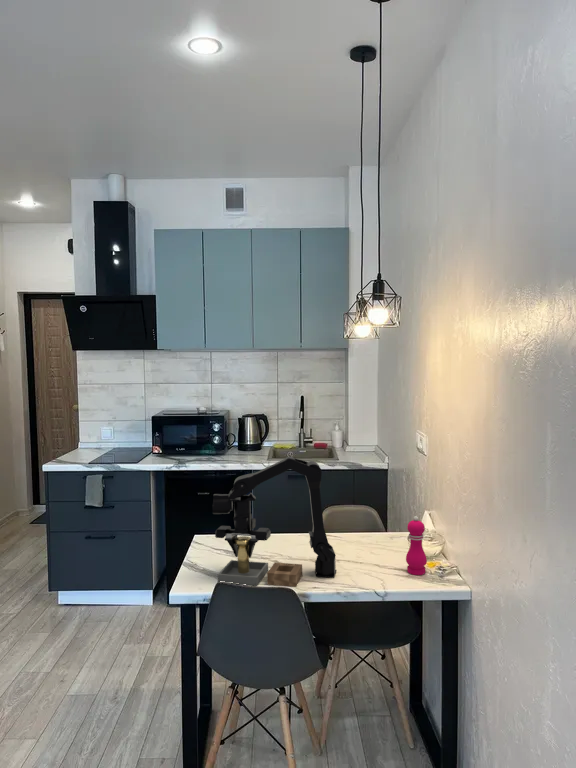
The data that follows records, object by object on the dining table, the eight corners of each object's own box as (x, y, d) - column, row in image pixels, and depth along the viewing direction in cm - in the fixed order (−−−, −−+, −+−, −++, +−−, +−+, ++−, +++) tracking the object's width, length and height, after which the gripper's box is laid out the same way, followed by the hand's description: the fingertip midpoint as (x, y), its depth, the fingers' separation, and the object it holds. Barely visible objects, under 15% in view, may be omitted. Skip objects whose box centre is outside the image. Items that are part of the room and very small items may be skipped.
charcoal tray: (268, 570, 199) (268, 562, 199) (257, 586, 185) (257, 577, 185) (231, 568, 202) (231, 560, 202) (217, 583, 189) (217, 574, 188)
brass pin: (253, 568, 196) (252, 536, 195) (248, 574, 190) (248, 541, 190) (238, 567, 197) (237, 535, 197) (233, 573, 192) (232, 540, 191)
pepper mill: (424, 568, 199) (423, 513, 199) (429, 575, 192) (428, 518, 191) (404, 568, 199) (403, 513, 199) (408, 576, 192) (407, 519, 192)
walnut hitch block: (302, 575, 194) (302, 564, 194) (296, 586, 184) (296, 575, 184) (274, 573, 196) (274, 562, 196) (267, 584, 187) (267, 572, 186)
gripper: (274, 508, 199) (275, 551, 199) (225, 506, 203) (226, 548, 203) (265, 516, 188) (266, 562, 188) (214, 514, 192) (215, 558, 193)
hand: (243, 557), depth 193 cm, fingers closed on brass pin, 5 cm apart
